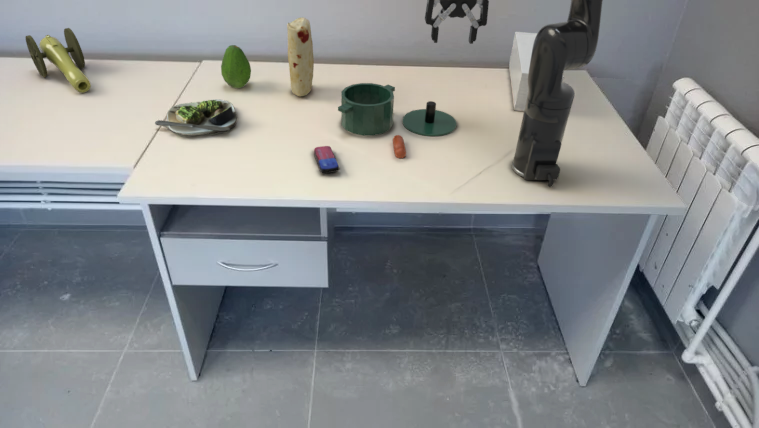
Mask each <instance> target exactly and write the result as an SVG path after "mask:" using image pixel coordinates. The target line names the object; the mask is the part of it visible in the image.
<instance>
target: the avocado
mask: <svg viewBox="0 0 759 428" xmlns="http://www.w3.org/2000/svg"><path fill="white" fill-rule="evenodd" d="M220 71H221V76H222V79H223V81H224V82H225V83H226V84H227V85H228V86H230V87H231V88H234V89H241V88H244V87H245V86H246V85H247V84H248V83H249V81H250V79H251V76H252V75H251V74H252V68H251V64H250V62H249V60H248V58H247V56H246V54H245V53H244V50H243V48H241V47H240V46H237V45H235V44H231V45H229V46H227V48H226V49H225V51H224V54H223V57H222V61H221V64H220Z"/></svg>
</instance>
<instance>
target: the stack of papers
mask: <svg viewBox="0 0 759 428" xmlns="http://www.w3.org/2000/svg"><path fill="white" fill-rule="evenodd" d="M537 33H538V32H537ZM537 33H536V32H524V31H515V32H514V36H513V41H512V48H511V53H510V58H509V62H508V69H509V78H510V85H511V93H512V103H513V110H514V111H516V112H517V111H518V112H524V110H525V105H526V101H527V96H528V73H529V67H530V61H531V54H532V48H533V44H534V40H535V37H536V35H537ZM564 78H565V77H564V75H563V77H562V82H564V81H563V80H564Z"/></svg>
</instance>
